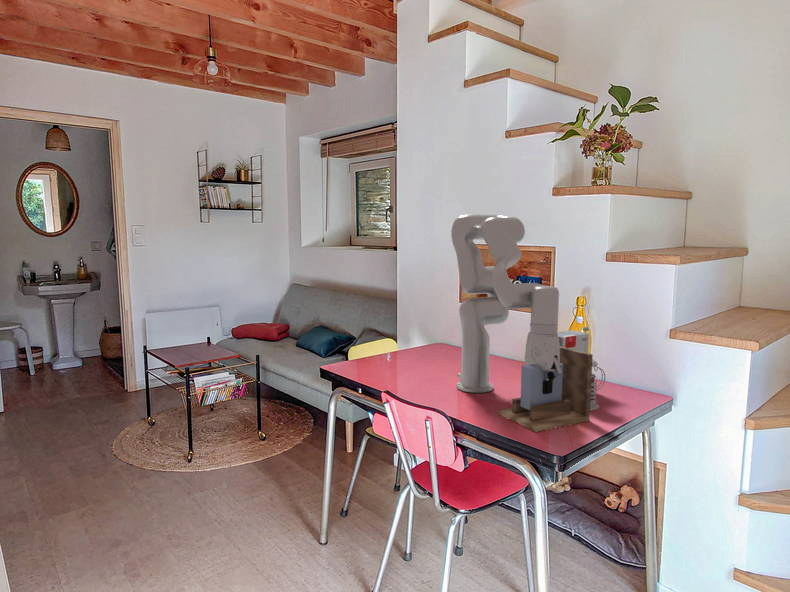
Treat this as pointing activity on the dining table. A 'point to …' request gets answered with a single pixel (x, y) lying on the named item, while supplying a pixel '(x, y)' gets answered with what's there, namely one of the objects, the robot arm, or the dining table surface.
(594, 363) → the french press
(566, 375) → the book rack
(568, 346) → the hard drive box
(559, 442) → the dining table surface
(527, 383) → the book
